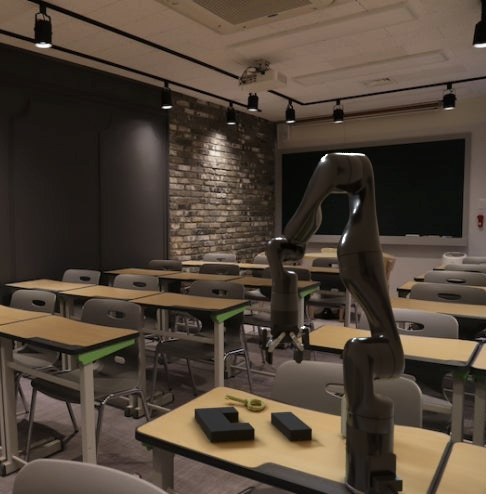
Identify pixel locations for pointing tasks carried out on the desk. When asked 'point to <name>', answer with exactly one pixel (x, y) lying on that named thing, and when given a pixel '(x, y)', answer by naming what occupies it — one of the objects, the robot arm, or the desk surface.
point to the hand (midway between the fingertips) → (284, 363)
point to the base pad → (223, 424)
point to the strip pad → (291, 426)
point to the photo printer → (343, 416)
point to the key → (248, 402)
